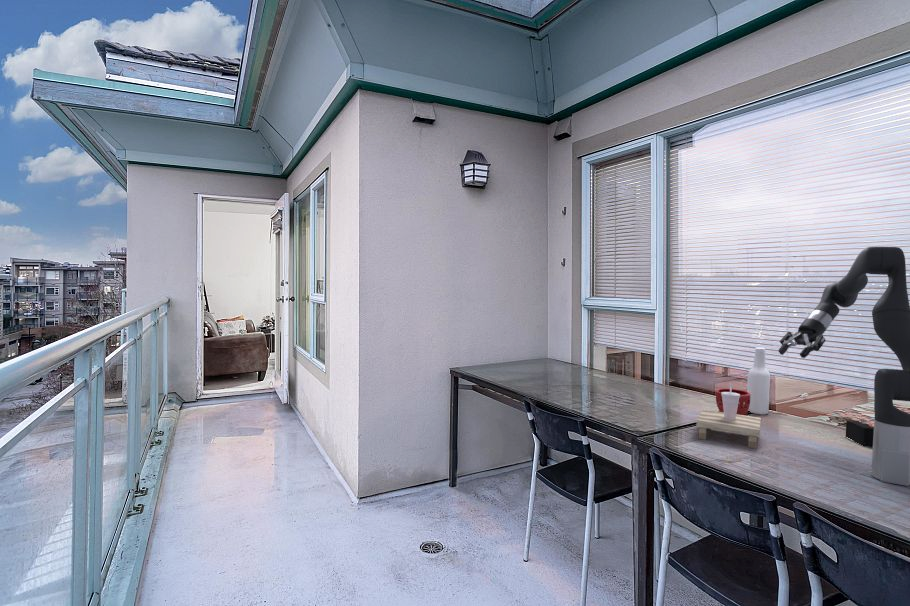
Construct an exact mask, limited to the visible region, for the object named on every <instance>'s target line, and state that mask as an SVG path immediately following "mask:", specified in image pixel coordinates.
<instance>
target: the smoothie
mask: <svg viewBox="0 0 910 606" xmlns="http://www.w3.org/2000/svg"><path fill="white" fill-rule="evenodd" d="M729 389H730V392H722V393H721V396H722V401H723V410H724V418H725V419H727V420H736V414H737V408H738V402H739V398H740V394H738V393H733V392H732V389H733V383H732V382H729Z"/></svg>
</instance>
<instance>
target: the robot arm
mask: <svg viewBox="0 0 910 606" xmlns="http://www.w3.org/2000/svg"><path fill="white" fill-rule="evenodd" d="M867 274H868V275H883V276H884V275H886V276H887V277H888V282H887V283H888V285H887V287H886V289H885V291H884V292H883V293H882V295H881V296H880V297H879V299H878V300H877V302H876V303H875V304H874V306H873V307H872V311H871V317H872V322H873V323H872V324H873V330H874V332H875V334H876V335H877V337H878V338H879V339H880V340H881V341H882V342H883V343H884V344H885V345H886V346H887V347H888V348H889V349H890V350H891V351H892V352H893V353H894V354H895V356H896V357H897V359H898V361H899V363H900V366H901V368H902V369H894V368H879V369H878V370H877V371H876V372H875V375H874V380H873V388H874V391H873V392H874V393H873V395H874V399H873V404H874V405H873V406H874V408H873V410H874V420H873V421H874V423H873V427H874V436H873V447H872V452H871V453H872V456H871V457H872V458H871V459H872V460H871V472H870V473H871V474H870V475H871V476H872V477H873V478H875V479H876V480H879V481H880V482H884V483H890V484H894V485H900V486H906V487H909V486H910V413H909V412H906V411H905V410H901V409H899V408H897V407H896V406H895V405H894V401H902V402H910V300H909V294H908V293H909V292H908V285H907V265H906V257H905V252H904V251H903V249H902V248H901V247H898V246H876V245H875V246H867V247H865V248H863V249H862V250H861V251H860V252H859V253H858V255H857V256H856V258H855V260H854V262H853V263H852V264H851V267H850V268H849V271H848V272H847V273H846V274H845V276H844V277H842V278H841V280H839V282H831V283H829V284H827V285H826V286H825V288H824V289H823V292H822V295H821V298H820V301H819V303H818V304H817V306H816V307H815V308H814V309H813V311H812V312H811V313H809V314H808V315H807V316H806V317H805V319H804V320H803V321H802V323H800V325H799V326H798V330H797V332H795V333H792V332H791V331H787V333H786V334H784V336H783V337H782V338H781V339H780V340H779V343H780V345H781V346H780V347H779V349H778V353H779V354H780V355H782V356H783V355H784V354H786V352H788V350H789V348H792V347H795V346H804V348H803V349H802V350H801V352H800V353H799V356H800V357H801V358H802V359H805V358H807V357H808V356H809V355H810V353H811V352H813V351H816V352H819V351H820V349H821V348H822V346H823V345H824V344H825V342H826V338H825V337H824V335H823V334H824V333H825V332H826V331H827V330H828V328H830V325H831V323H832V322H833V321H834V320H835V318H837V317H838V315H839V313H840V310H841V309H840V308H849V307H852V306H853V305H854V304H855V303H856V302H857V298H858V295H859V293H860V292H861V291H863V290H864V289H865V288H866V286H868V282H869V279H868V276H867ZM839 307H840V308H839ZM793 341H794V342H793Z"/></svg>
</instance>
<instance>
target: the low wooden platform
mask: <svg viewBox="0 0 910 606" xmlns="http://www.w3.org/2000/svg"><path fill="white" fill-rule="evenodd" d="M761 424H762V418H761V417H757V416H751V415H750V416H749V415H748V416H745V415H738V414H736V420H727V419H725V418H724V412H718V411H715V410H711V409H709V410H708V409H702V411H701V412H700V414H699V416H698V418H697V419H696V427H698V439H700V440H707V436H708V435H707V433H708V430H717V431H721V432H729V433H735V434H740V435H747V436H748V443H747V444H748V447H747V448H752V449H757V443H758V437H759V438H760V437H761V436H760V433H761V426H762V425H761Z"/></svg>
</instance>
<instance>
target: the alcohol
mask: <svg viewBox="0 0 910 606" xmlns="http://www.w3.org/2000/svg"><path fill="white" fill-rule="evenodd" d="M754 349H755V350H754V352H755V353H754V359H753V366H752V367H751V368H750V369H749V370H748V373H747V383H746V385H747V386H746V391H747V392H749V393H750V405H749V409H748V411H750V412H751V414H756V415H760V416H761V415H768V413H769V412H770V410H769V409H770V388H771V387H770V386H771V374H770V373H771V372H769V370H768V369H767V366H766V348H765V347H759V346H757V347H755V348H754ZM748 411H747V412H748ZM750 412H749V413H750Z"/></svg>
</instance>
